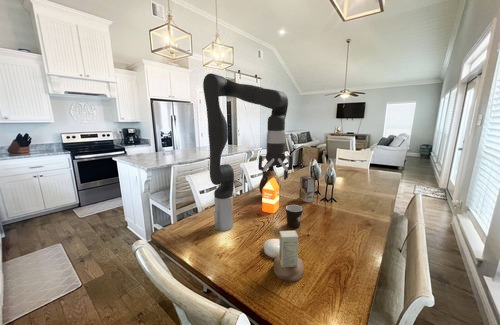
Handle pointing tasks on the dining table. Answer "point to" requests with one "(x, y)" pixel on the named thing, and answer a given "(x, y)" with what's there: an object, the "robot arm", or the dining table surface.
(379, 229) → the dining table surface
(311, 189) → the coffee box
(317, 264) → the dining table surface
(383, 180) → the dining table surface
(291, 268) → the pinkish brown pedestal
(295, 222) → the coffee mug
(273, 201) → the orange juice
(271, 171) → the ceramic jug
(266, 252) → the white rounded piece
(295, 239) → the skincare box
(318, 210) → the dining table surface
